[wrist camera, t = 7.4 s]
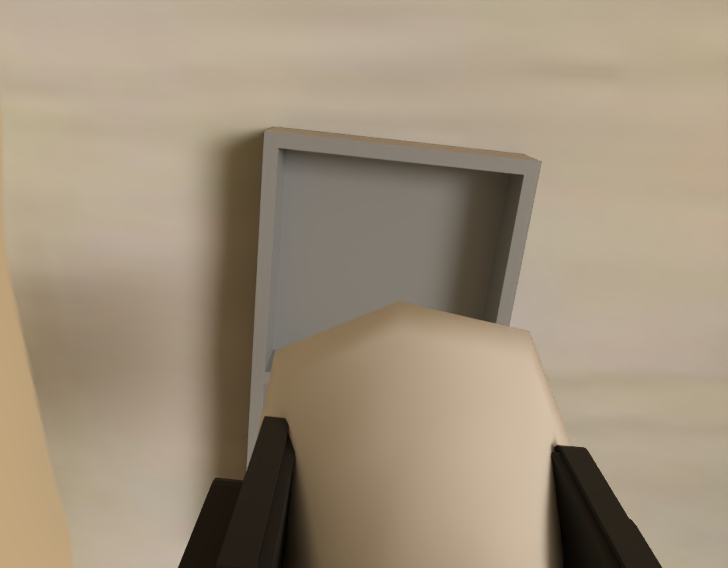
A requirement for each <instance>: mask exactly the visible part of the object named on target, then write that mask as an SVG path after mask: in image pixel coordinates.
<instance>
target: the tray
mask: <svg viewBox="0 0 728 568" xmlns="http://www.w3.org/2000/svg"><path fill="white" fill-rule="evenodd" d="M541 163H542V161H539V160H537V159H534V158H532V157H529V156H527V155H524V154H518V153H509V152H500V151H491V150H482V149H473V148H464V147H455V146H446V145H437V144H428V143H419V142H410V141H401V140H391V139H382V138H373V137H364V136H355V135H346V134H337V133H328V132H319V131H310V130H301V129H292V128H283V127H273V128H271V129H268V130H266V131H264V144H263V163H262V182H261V201H260V220H259V239H258V258H257V277H256V296H255V316H254V335H253V354H252V373H251V392H250V411H249V430H248V449H247V468H248V465H249V462H250V459H251V456H252V453H253V450H254V446H255V443H256V439H257V434H258V429H259V425H260V420H261V415H262V410H263V406H264V401H265V396H266V391H267V387H268V382H269V377H270V373H271V368H272V363H273V358H274V354H275V350H278V349H280V348H283V347H285V346H288V345H290V344H293V343H295V342H298V341H300V340H303V339H305V338H308V337H310V336H313V335H315V334H318V333H320V332H323V331H325V330H328V329H330V328H333V327H335V326H338V325H340V324H343V323H345V322H348V321H350V320H353V319H355V318H358V317H360V316H363V315H365V314H368V313H370V312H373V311H375V310H378V309H380V308H383V307H385V306H388V305H390V304H393V303H395V302H398V301H400V302H404V303H408V304H413V305H417V306H421V307H426V308H430V309H434V310H439V311H443V312H447V313H452V314H456V315H460V316H465V317H469V318H473V319H478V320H482V321H487V322H491V323H495V324H500V325H504V326H508V327H509V325H510V320H511V315H512V309H513V304H514V299H515V294H516V289H517V284H518V279H519V274H520V269H521V264H522V259H523V254H524V249H525V244H526V239H527V233H528V228H529V223H530V218H531V213H532V208H533V203H534V198H535V193H536V188H537V183H538V178H539V173H540V168H541ZM247 468H246V471H247Z"/></svg>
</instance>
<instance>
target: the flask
mask: <svg viewBox="0 0 728 568" xmlns="http://www.w3.org/2000/svg"><path fill="white" fill-rule="evenodd" d="M264 416H271V417H281V418H286V420H287V422H288V425H289V430H288V434H289V437H290V440H291V442H292V445H293V448H294V450H295V459H294V468H293V477H292V487H291V496H290V505H289V515H288V524H287V533H286V543H285V552H284V561H283V568H563V566H564V552H563V545H562V537H561V529H560V522H559V514H558V506H557V498H556V490H555V482H554V474H553V466H552V458H551V453H552V452H555V448H554V447H555V446H556V445H564V446H570V438H569V436H568V433H567V430H566V428H565V425H564V422H563V420H562V417H561V414H560V412H559V409H558V406H557V404H556V401H555V398H554V396H553V393H552V390H551V388H550V385H549V382H548V379H547V377H546V374H545V371H544V369H543V366H542V363H541V361H540V358H539V355H538V353H537V350H536V347H535V345H534V342H533V339H532V337H531V334H530V331H526V330H521V329H517V328H513V327H508V326H504V325H500V324H495V323H491V322H487V321H482V320H478V319H473V318H469V317H465V316H460V315H456V314H452V313H447V312H443V311H439V310H434V309H430V308H426V307H421V306H417V305H413V304H408V303H404V302H400V301H398V302H395V303H393V304H390V305H388V306H385V307H383V308H380V309H378V310H375V311H373V312H370V313H368V314H365V315H363V316H360V317H358V318H355V319H353V320H350V321H348V322H345V323H343V324H340V325H338V326H335V327H333V328H330V329H328V330H325V331H323V332H320V333H318V334H315V335H313V336H310V337H308V338H305V339H303V340H300V341H298V342H295V343H293V344H290V345H288V346H285V347H283V348H280V349H278V350H275V354H274V358H273V363H272V368H271V373H270V377H269V382H268V387H267V391H266V396H265V401H264V406H263V410H262V415H261V420H260V425H259V429H258V434H259V431H260V428H261V425H262V422H263V419H264ZM258 434H257V437H258ZM256 440H257V439H256Z"/></svg>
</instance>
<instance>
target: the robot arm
mask: <svg viewBox="0 0 728 568" xmlns="http://www.w3.org/2000/svg"><path fill="white" fill-rule="evenodd" d="M288 430H289V425H288V422H287V420H286V418H281V417H271V416H264V419H263V422H262V425H261V428H260V431H259V434H258V437H257V440H256V443H255V446H254V450H253V453H252V456H251V459H250V462H249V465H248V468H247V471H246V474H245V477H244V480H232V479H222V478H215V479H214V481H213V483H212V485H211V487H210V490H209V492H208V495H207V497H206V500H205V502H204V505H203V507H202V509H201V512H200V514H199V517H198V519H197V522H196V524H195V527H194V529H193V532H192V534H191V537H190V539H189V542H188V544H187V547H186V549H185V552H184V554H183V557H182V559H181V562H180V564H179V567H178V568H283V561H284V552H285V543H286V533H287V524H288V515H289V505H290V496H291V487H292V477H293V468H294V459H295V450H294V448H293V445H292V442H291V440H290V437H289V434H288ZM554 448H555V452H552V453H551V458H552V466H553V474H554V482H555V490H556V498H557V506H558V514H559V522H560V529H561V537H562V545H563V552H564V566H563V568H662V567H661V565H660V563H659V562H658V560H657V559H656V557H655V555H654V554H653V552H652V550H651V549H650V547H649V546H648V544H647V542H646V541H645V539H644V537H643V536H642V534H641V533H640V531H639V529H638V528H637V526H636V525H635V523H634V522H633V521H632V520H631V519H629V518H628V516H627V514H626V513H625V511H624V509H623V508H622V506H621V504H620V503H619V501H618V500H617V498H616V496H615V495H614V493H613V491H612V490H611V488H610V486H609V485H608V483H607V481H606V480H605V478H604V476H603V475H602V473H601V472H600V470H599V468H598V467H597V465H596V463H595V462H594V460H593V458H592V457H591V455H590V453H589V452H588V450H587V449H586V448H583V447H574V446H564V445H556V446H555V447H554Z"/></svg>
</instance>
